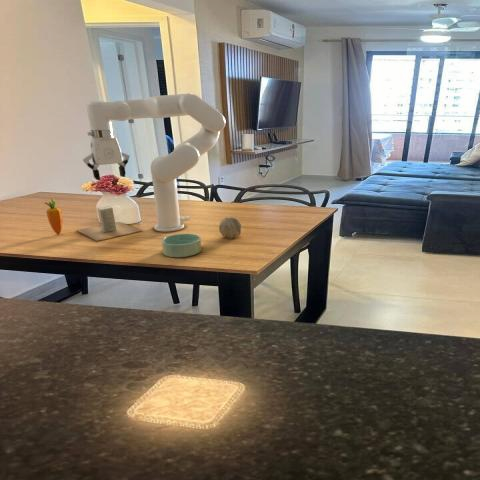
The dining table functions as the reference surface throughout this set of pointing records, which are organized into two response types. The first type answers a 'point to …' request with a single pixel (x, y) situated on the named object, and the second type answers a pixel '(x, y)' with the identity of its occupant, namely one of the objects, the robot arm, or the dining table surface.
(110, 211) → the grey rectangular block
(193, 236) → the bowl
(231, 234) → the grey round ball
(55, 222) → the carrot
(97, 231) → the mat
